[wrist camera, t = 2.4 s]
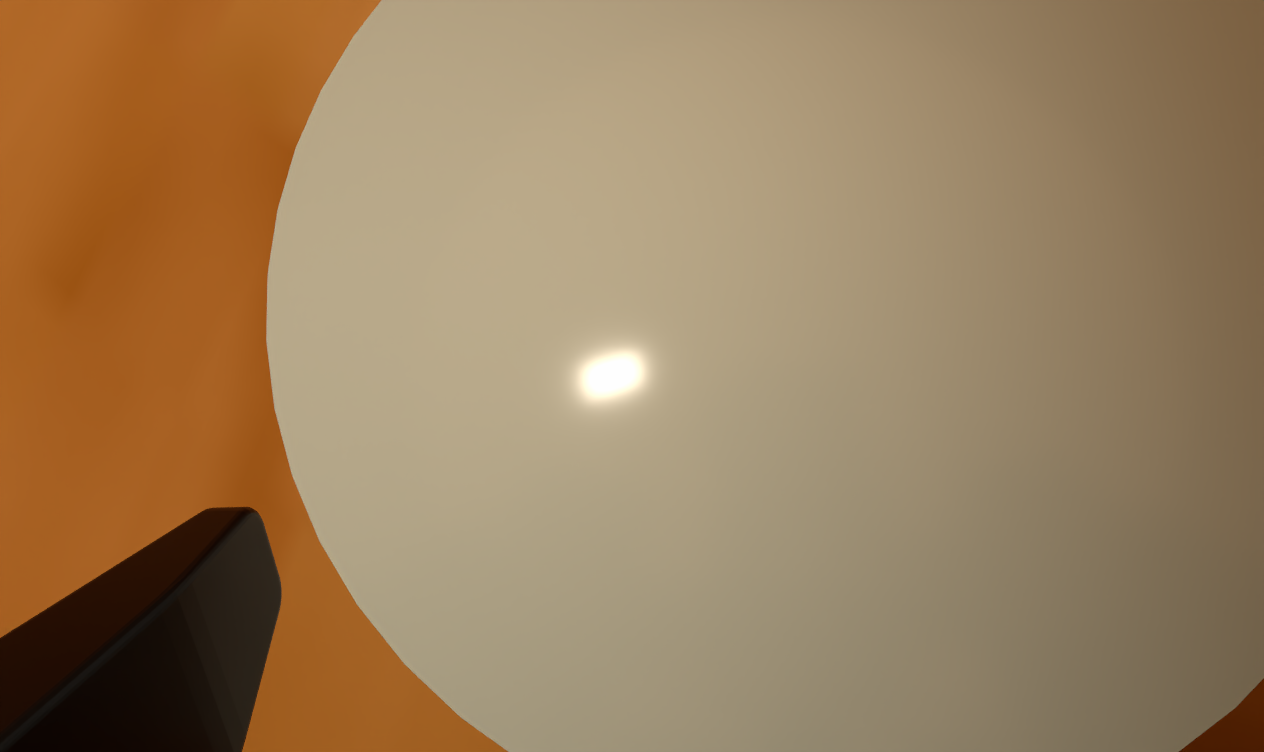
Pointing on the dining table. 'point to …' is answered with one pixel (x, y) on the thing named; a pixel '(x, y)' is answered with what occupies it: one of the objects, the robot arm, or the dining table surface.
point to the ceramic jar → (790, 367)
